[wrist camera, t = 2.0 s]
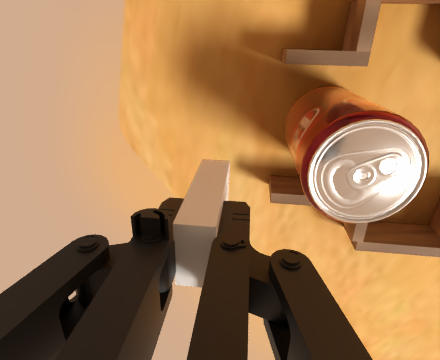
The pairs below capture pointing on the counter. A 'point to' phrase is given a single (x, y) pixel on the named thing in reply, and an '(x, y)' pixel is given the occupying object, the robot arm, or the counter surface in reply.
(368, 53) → the trap box
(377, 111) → the soda can
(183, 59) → the counter surface
